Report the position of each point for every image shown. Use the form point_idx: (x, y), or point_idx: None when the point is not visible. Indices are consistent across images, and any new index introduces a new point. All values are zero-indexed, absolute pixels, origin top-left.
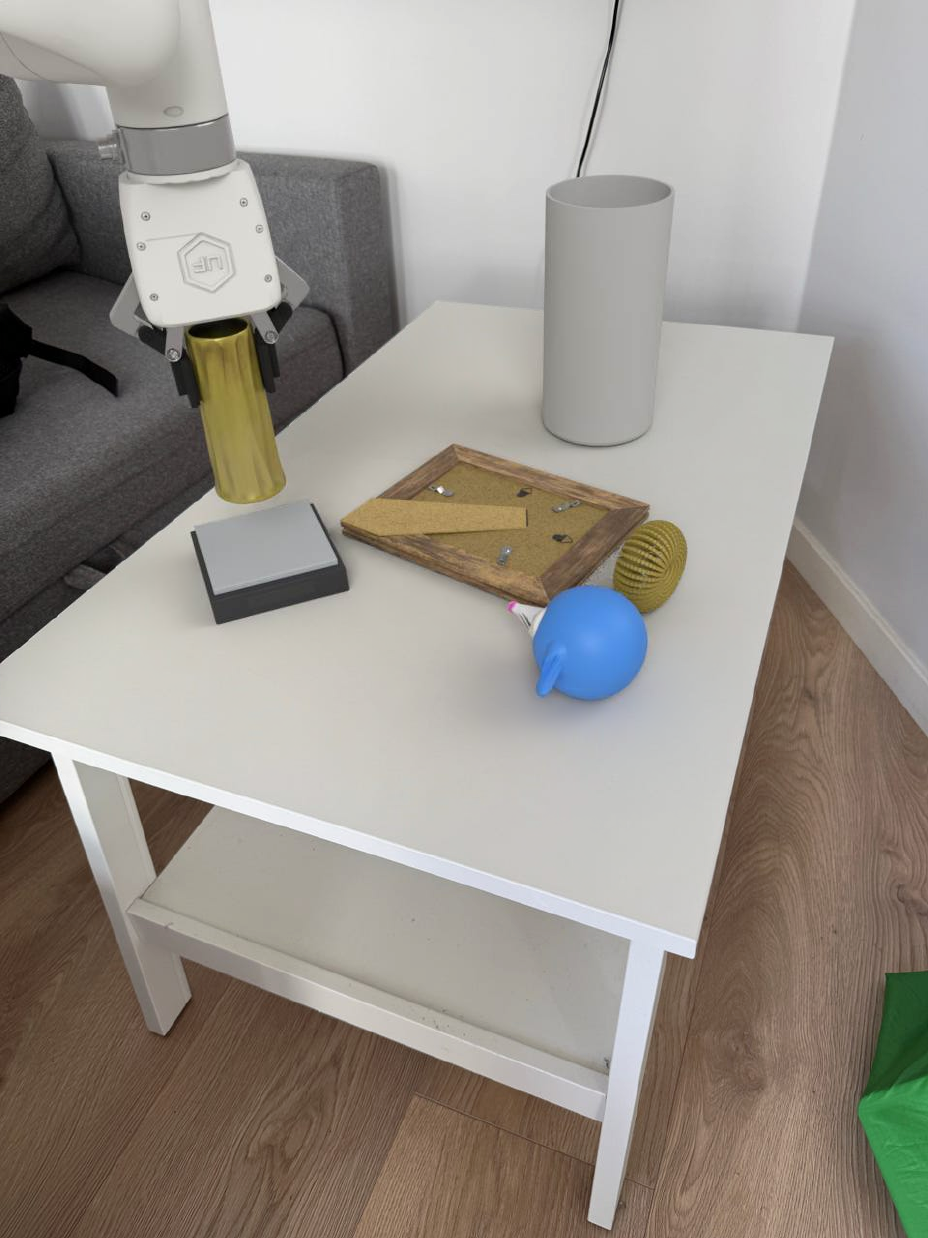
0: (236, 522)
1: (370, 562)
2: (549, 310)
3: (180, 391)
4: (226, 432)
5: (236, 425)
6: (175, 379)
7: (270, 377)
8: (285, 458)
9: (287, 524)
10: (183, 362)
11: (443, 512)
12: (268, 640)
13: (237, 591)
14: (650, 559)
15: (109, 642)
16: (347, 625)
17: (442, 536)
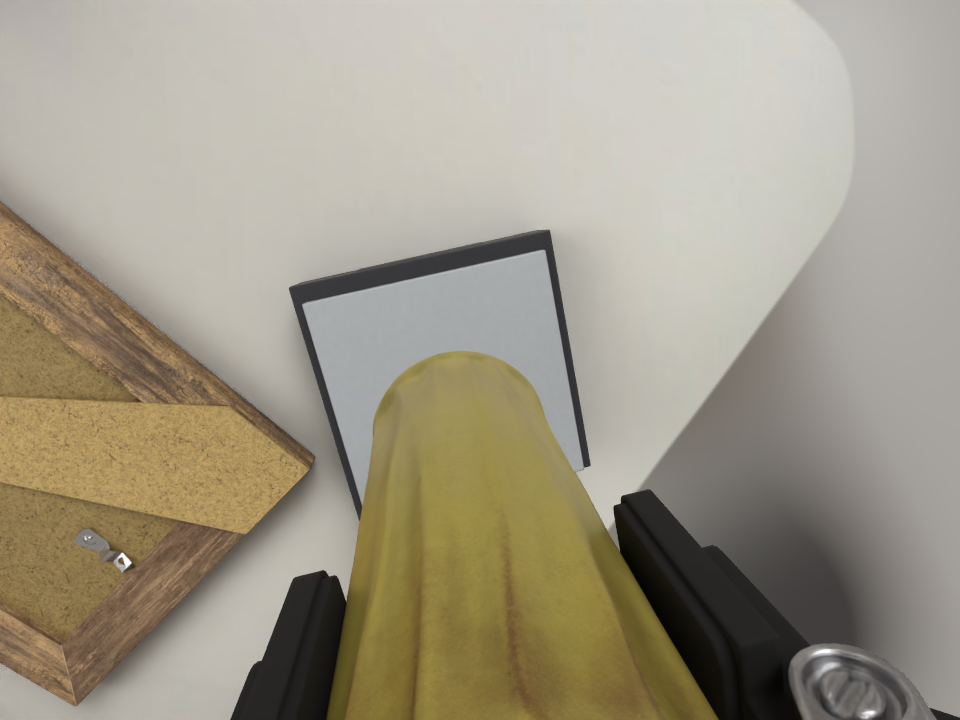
0: None
1: (261, 362)
2: None
3: (711, 552)
4: (511, 432)
5: (474, 440)
6: (756, 589)
7: (291, 620)
8: None
9: None
10: (761, 635)
11: (95, 468)
12: (447, 165)
13: (500, 254)
14: None
15: (710, 222)
16: (303, 176)
17: (102, 395)
